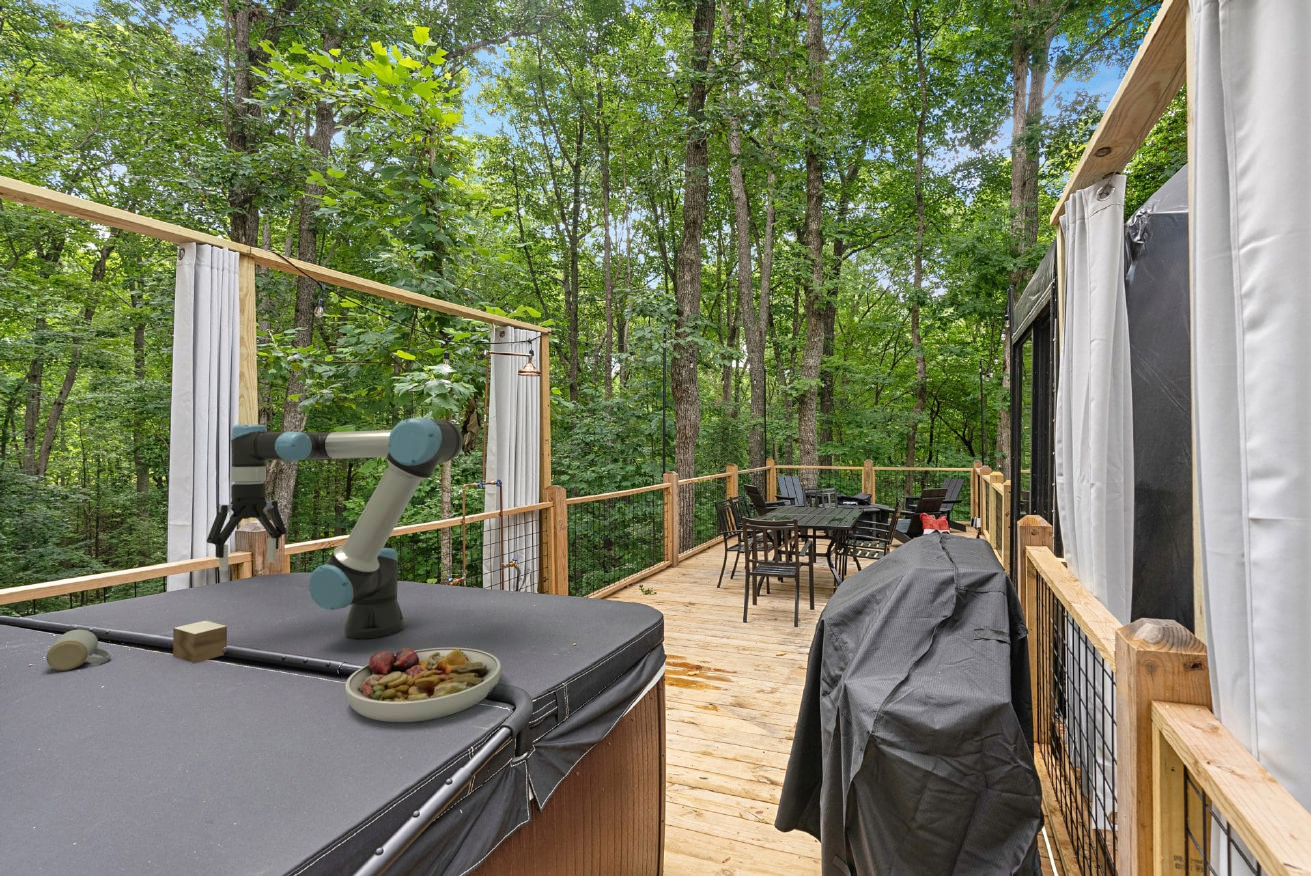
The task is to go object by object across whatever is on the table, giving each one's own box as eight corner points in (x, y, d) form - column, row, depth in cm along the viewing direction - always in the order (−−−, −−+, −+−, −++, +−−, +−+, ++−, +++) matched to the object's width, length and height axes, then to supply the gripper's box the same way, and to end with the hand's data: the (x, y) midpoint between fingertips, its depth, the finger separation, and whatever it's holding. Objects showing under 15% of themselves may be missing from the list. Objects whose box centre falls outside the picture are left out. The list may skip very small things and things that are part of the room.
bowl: (527, 678, 133) (527, 643, 133) (437, 741, 105) (437, 696, 105) (418, 662, 143) (418, 629, 143) (308, 715, 115) (309, 675, 115)
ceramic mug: (43, 675, 134) (44, 640, 134) (54, 664, 141) (55, 631, 141) (106, 666, 140) (107, 633, 140) (114, 656, 146) (115, 624, 147)
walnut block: (226, 654, 148) (227, 626, 148) (194, 663, 141) (194, 634, 141) (205, 648, 152) (205, 620, 152) (173, 656, 146) (173, 627, 146)
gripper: (285, 480, 169) (285, 557, 169) (189, 485, 148) (189, 573, 148) (301, 480, 166) (301, 559, 165) (205, 486, 145) (205, 576, 144)
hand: (248, 566), depth 157 cm, fingers open, 11 cm apart
